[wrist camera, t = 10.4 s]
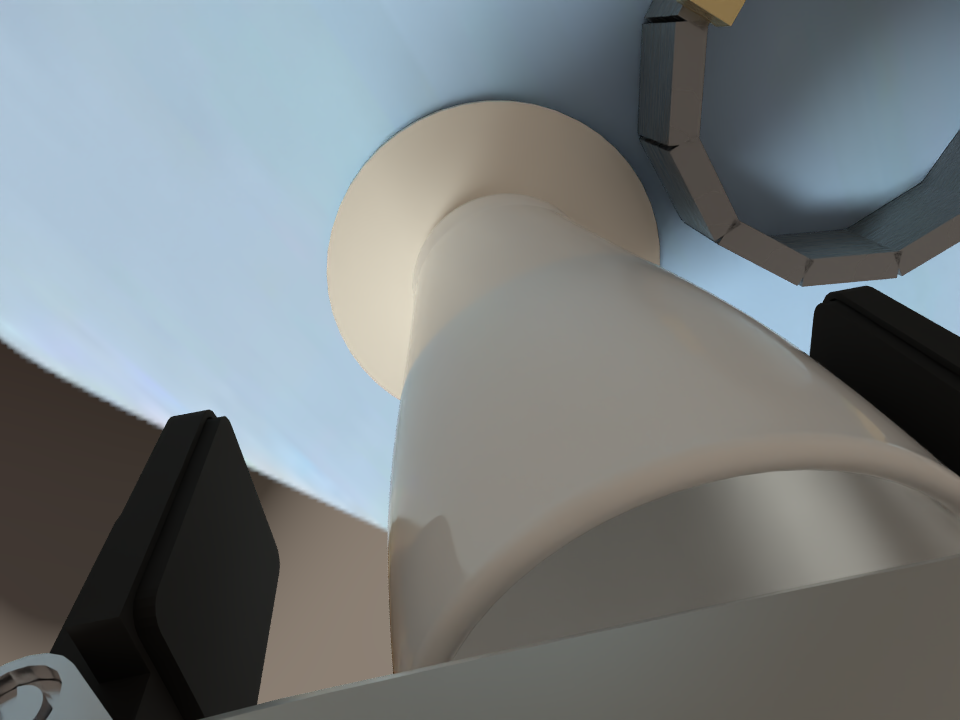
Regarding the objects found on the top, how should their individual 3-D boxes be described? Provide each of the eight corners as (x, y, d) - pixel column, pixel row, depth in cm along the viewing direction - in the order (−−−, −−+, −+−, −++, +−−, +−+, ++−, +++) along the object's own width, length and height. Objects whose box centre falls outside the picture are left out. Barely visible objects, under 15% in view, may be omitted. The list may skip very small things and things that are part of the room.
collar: (562, 158, 20) (590, 179, 17) (794, -286, 16) (884, -359, 13) (857, 313, 23) (925, 354, 20) (1109, -27, 19) (1239, -39, 16)
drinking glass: (340, 240, 19) (236, 681, 6) (550, 115, 19) (985, 285, 5) (459, 417, 22) (574, 992, 9) (645, 314, 22) (1088, 762, 8)
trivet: (280, 348, 21) (277, 356, 21) (412, 30, 18) (413, 30, 17) (555, 454, 24) (559, 464, 24) (715, 195, 21) (723, 200, 20)
